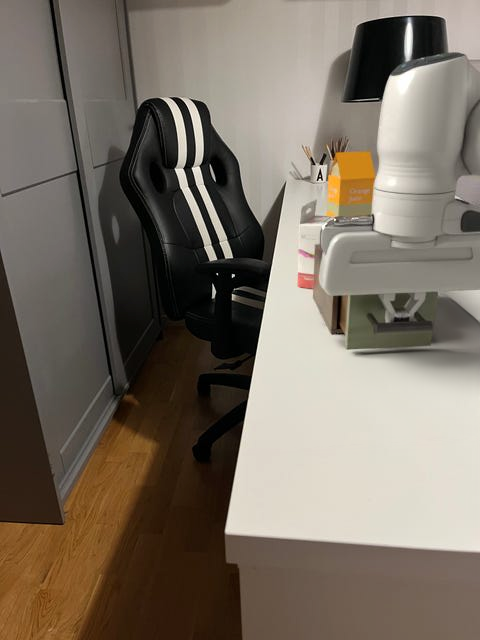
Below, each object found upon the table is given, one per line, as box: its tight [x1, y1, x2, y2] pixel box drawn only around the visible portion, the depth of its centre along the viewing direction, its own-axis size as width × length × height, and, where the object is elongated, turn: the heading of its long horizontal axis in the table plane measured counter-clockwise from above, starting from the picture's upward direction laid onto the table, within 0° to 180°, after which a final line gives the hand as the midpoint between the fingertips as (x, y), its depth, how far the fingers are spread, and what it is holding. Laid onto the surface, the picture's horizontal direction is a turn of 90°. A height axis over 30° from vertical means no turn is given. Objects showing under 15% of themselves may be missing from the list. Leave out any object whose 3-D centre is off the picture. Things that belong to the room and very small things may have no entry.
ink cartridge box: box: [297, 199, 335, 290], centre depth 91 cm, size 9×5×15 cm, turn 154°
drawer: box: [337, 292, 439, 350], centre depth 69 cm, size 18×11×8 cm, turn 3°
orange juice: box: [326, 150, 376, 217], centre depth 120 cm, size 8×9×20 cm
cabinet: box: [312, 244, 344, 335], centre depth 78 cm, size 15×13×10 cm
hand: (398, 323), depth 63 cm, fingers closed, pressing on drawer
